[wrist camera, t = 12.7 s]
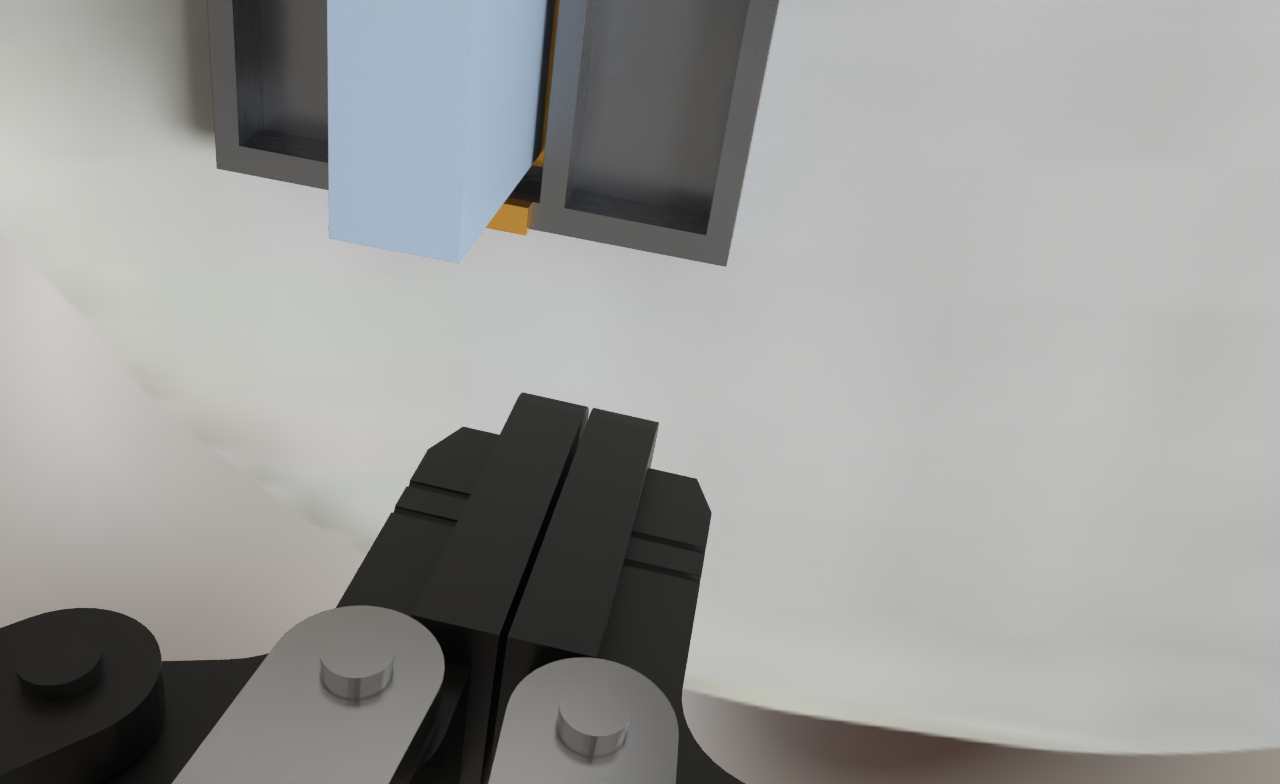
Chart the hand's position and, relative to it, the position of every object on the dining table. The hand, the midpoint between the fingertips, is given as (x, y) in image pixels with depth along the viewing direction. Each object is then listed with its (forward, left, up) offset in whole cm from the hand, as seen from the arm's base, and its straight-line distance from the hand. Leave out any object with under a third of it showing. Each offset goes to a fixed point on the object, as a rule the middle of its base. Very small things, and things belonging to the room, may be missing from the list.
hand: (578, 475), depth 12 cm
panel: (-1, -6, -20) cm, 21 cm away
